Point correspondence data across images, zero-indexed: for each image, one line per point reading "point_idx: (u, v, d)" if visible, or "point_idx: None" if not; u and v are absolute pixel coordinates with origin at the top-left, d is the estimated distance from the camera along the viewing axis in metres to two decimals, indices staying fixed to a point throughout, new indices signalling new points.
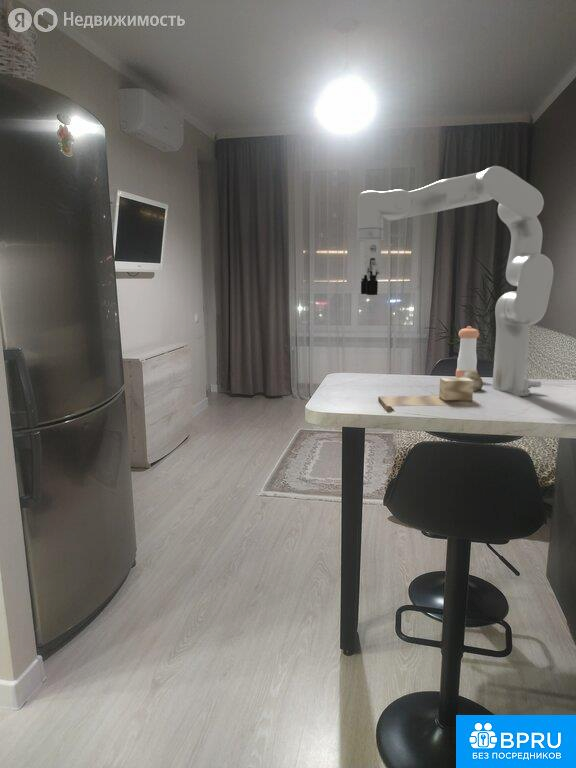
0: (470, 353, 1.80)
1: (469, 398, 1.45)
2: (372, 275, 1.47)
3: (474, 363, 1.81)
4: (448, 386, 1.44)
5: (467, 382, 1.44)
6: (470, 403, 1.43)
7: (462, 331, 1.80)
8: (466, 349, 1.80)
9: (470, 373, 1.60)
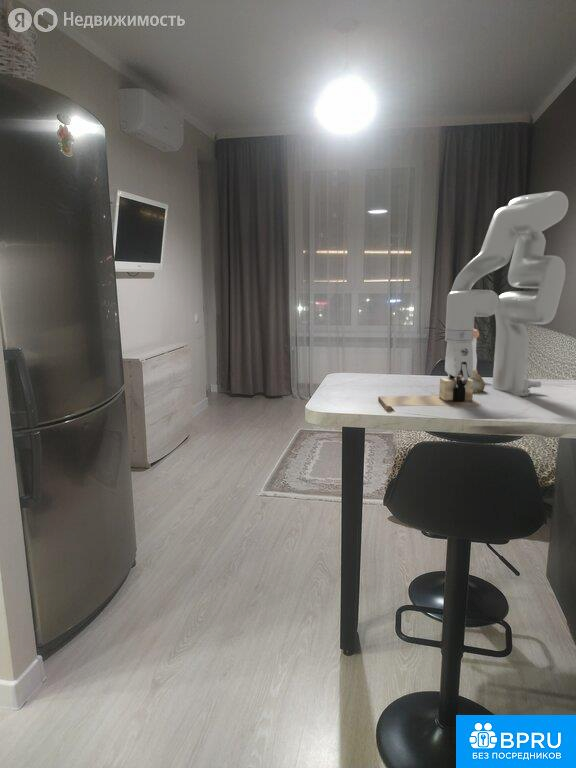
0: None
1: (469, 398, 1.45)
2: (461, 383, 1.41)
3: (474, 363, 1.81)
4: (448, 386, 1.44)
5: (467, 382, 1.44)
6: (470, 403, 1.43)
7: None
8: None
9: (472, 374, 1.58)
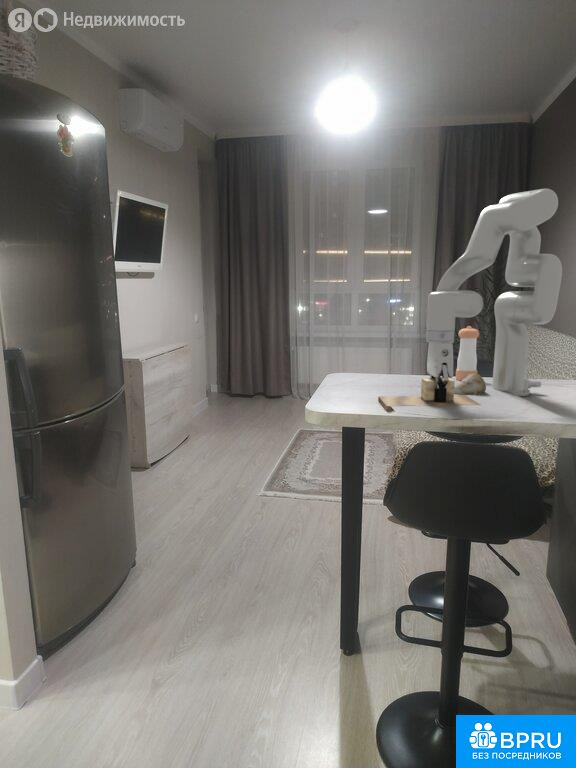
0: (470, 353, 1.80)
1: (450, 398, 1.45)
2: (442, 384, 1.41)
3: (474, 363, 1.81)
4: (429, 386, 1.44)
5: (448, 382, 1.44)
6: (470, 403, 1.43)
7: (462, 331, 1.80)
8: (466, 349, 1.80)
9: (473, 375, 1.56)
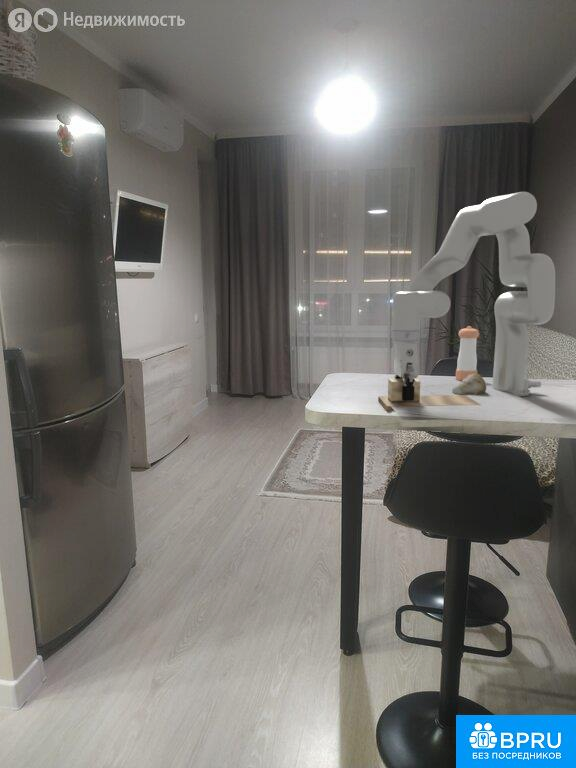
0: (470, 353, 1.80)
1: (416, 399, 1.44)
2: (409, 382, 1.38)
3: (474, 363, 1.81)
4: (395, 386, 1.44)
5: None
6: (470, 403, 1.43)
7: (462, 331, 1.80)
8: (466, 349, 1.80)
9: (473, 375, 1.56)
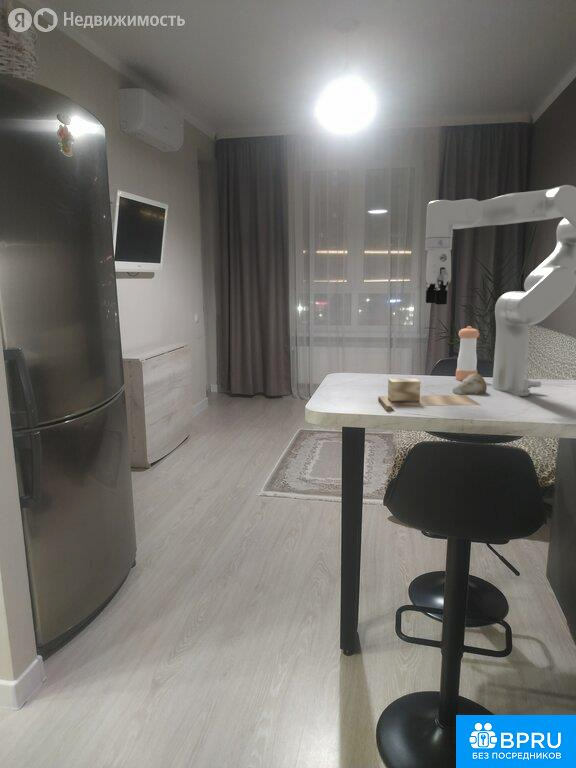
0: (470, 353, 1.80)
1: (416, 399, 1.44)
2: (443, 285, 1.46)
3: (474, 363, 1.81)
4: (395, 386, 1.44)
5: (414, 383, 1.43)
6: (470, 403, 1.43)
7: (462, 331, 1.80)
8: (466, 349, 1.80)
9: (473, 375, 1.56)
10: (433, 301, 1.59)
